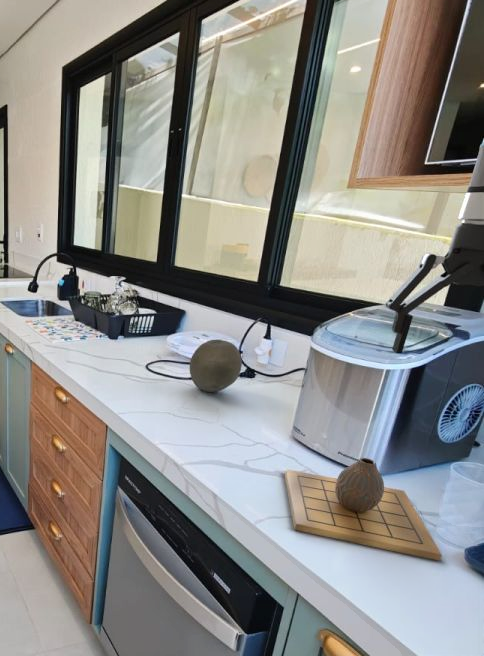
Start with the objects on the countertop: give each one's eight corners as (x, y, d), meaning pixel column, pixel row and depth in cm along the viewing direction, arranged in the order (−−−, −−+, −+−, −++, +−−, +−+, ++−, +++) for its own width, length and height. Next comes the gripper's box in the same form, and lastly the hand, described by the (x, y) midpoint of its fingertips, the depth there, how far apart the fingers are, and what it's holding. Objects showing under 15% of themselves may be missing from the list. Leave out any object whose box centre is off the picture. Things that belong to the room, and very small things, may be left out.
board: (402, 496, 93) (404, 490, 93) (439, 561, 76) (442, 554, 75) (284, 474, 100) (285, 468, 99) (294, 529, 82) (295, 523, 82)
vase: (338, 513, 85) (352, 467, 82) (325, 492, 91) (338, 449, 88) (383, 519, 84) (399, 473, 80) (367, 498, 90) (381, 454, 86)
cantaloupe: (175, 390, 145) (183, 339, 139) (202, 380, 153) (210, 332, 148) (220, 404, 135) (230, 350, 129) (246, 393, 143) (256, 342, 138)
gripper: (401, 221, 78) (364, 353, 86) (607, 226, 71) (547, 371, 78) (387, 220, 85) (354, 343, 93) (575, 225, 77) (522, 359, 85)
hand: (443, 356), depth 86 cm, fingers open, 13 cm apart
